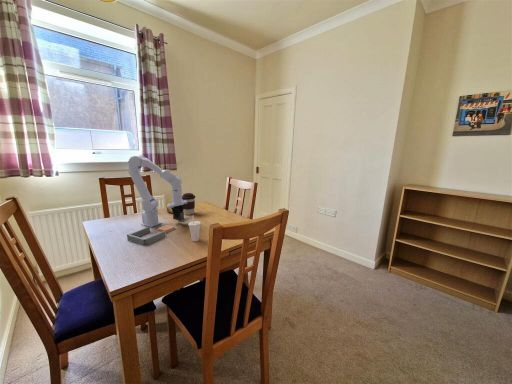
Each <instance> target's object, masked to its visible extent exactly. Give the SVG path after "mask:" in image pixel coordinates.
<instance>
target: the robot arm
mask: <svg viewBox="0 0 512 384" xmlns="http://www.w3.org/2000/svg"><path fill="white" fill-rule="evenodd" d="M127 163H128V174H129V177H130V178H131V180H132V182H133V184H134V186H135V188H136V190H137V192H138V194H139V196H140V197H141V205H142V209H143V211H142V213H141V220H142V221H141V222H142V223H141V225H142V226H146V227H149V228H152V227H153V228H154V227H155V226H158V225H161V224H162V221H161V222H160V221H159V212H158V206H159V202H158V201H157V199H155V198H154V195H151V193H150V190H149V188H148V187H147V185H146V183H145V180H144V179H143V177H142V175H141V173H140V171H141V170H142V168H148V169H151V170H152V171H153V172H155V173H157V174H159V176H160V178H161V179H163V180H164V181H166V182H167V183H169V184H170V186H171V194H172V202H171V203H172V204H170V205H168V204H167V205H168V209H172V211H173V212H174V215H175V217H176V218H178V212H179V211H182V212H184V207H185V205H183V204H187V201H186V200H184V201H182V196H183V191H182V184H183V180H182V178H181V177H180V176H177V175H175V174H173V173H172V172H171V171H170V170H169V169H162V168H161V167H160V166H158V165H157V164H156V163H154V162H153V161H152V160H150V159H149V158H147V157H146V156H145V155H141V154H140V155H132V156H130V157H129V159H128V161H127Z"/></svg>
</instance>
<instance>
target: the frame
mask: <svg viewBox="0 0 512 384" xmlns="http://www.w3.org/2000/svg"><path fill="white" fill-rule="evenodd" d="M150 228H151V227H149V226H146V227H143V228H141V229H138V230H136V231H133V232H131V233H128V234H126V237H127V238H126V239H127V241H130V242H133V243H135V244H136V243H137V244H139V245H142V246H148V245H149V244H152V243H153V242H156V241H158V240H161V239H163V238H165V237H166V236H167V235H166V234H167V233H165V231H162V232H160V231H159V232H158V233H155V234H153V235H150V236H149V237H146V238H144V237H140V236H143V235H146V234H147V233H150V232H151V231H150Z"/></svg>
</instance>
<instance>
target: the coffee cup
mask: <svg viewBox="0 0 512 384" xmlns="http://www.w3.org/2000/svg"><path fill="white" fill-rule="evenodd" d="M195 198H196V195H195V194H193V192H192V193H191V192H187V193H182V201H184V200H186V201H187V204H183V205H185V207H184V210H183V212H184V215H186V216H188V215H189V216H190V215H194V214H195V207H196V205H195V204H196V199H195Z"/></svg>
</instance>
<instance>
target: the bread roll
mask: <svg viewBox="0 0 512 384" xmlns="http://www.w3.org/2000/svg"><path fill="white" fill-rule="evenodd" d="M172 203H173V202H169V203H167V205H166V212H168V213H170V214H173V211H172V209H168V205H170V204H172Z"/></svg>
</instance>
